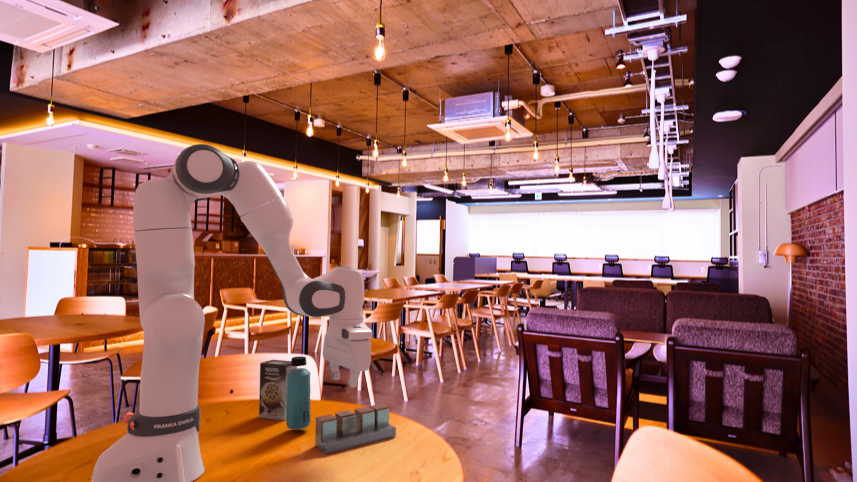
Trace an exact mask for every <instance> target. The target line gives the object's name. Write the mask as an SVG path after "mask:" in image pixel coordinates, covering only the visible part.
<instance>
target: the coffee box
mask: <svg viewBox="0 0 857 482" xmlns="http://www.w3.org/2000/svg"><path fill="white" fill-rule="evenodd" d="M259 367H260V368H259V393H258V396H259V402H258V403H259V404H258V410H259V411H258V418H260V419H269V420H276V421H287V420H286V419H287V416H286V415H287V410H286V408H287V407H286V406H287V374H288V372H289V371H291V370H292V369H296V368H298V366H291V360H281V359H270V360H265V361H263V362H262V361H261V362H260V363H259Z"/></svg>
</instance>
